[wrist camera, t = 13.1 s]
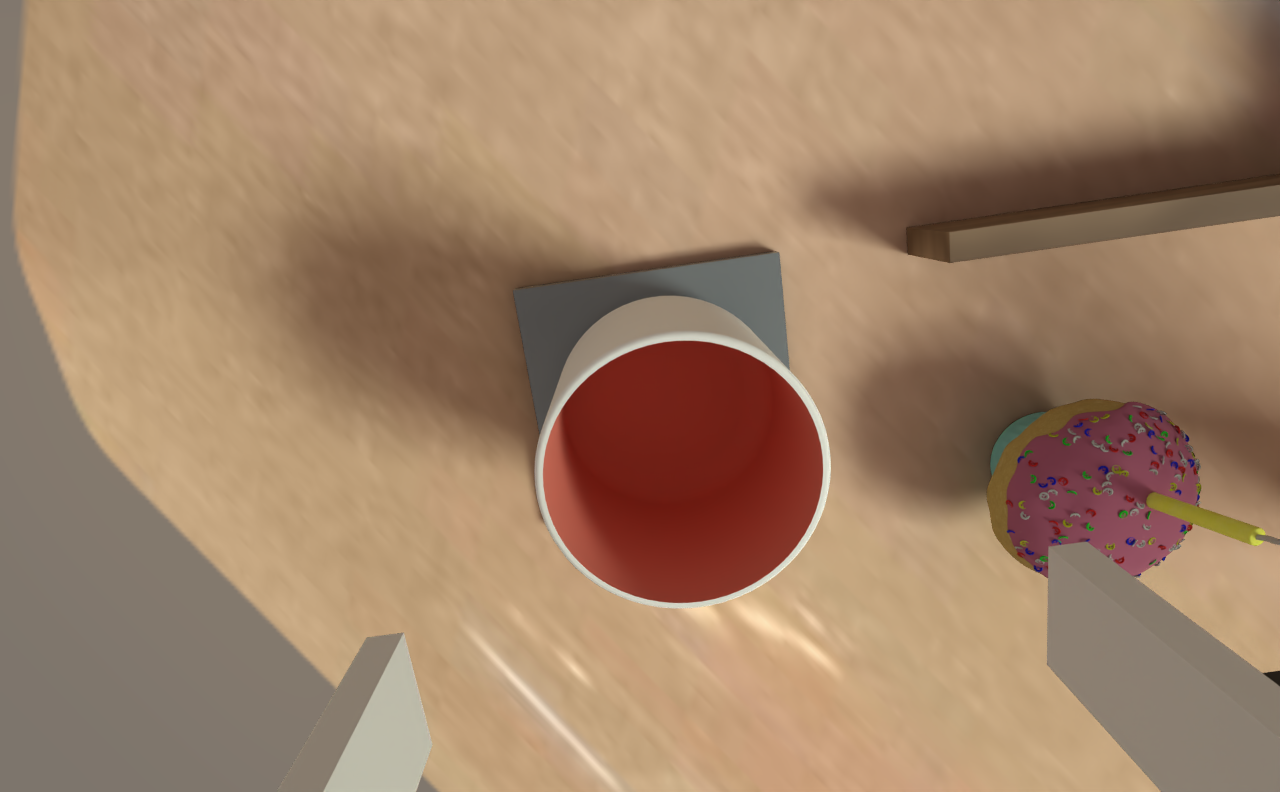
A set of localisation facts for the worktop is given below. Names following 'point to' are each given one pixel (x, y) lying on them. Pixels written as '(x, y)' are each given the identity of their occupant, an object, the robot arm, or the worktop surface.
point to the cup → (679, 456)
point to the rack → (1097, 220)
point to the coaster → (574, 306)
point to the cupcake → (1100, 486)
